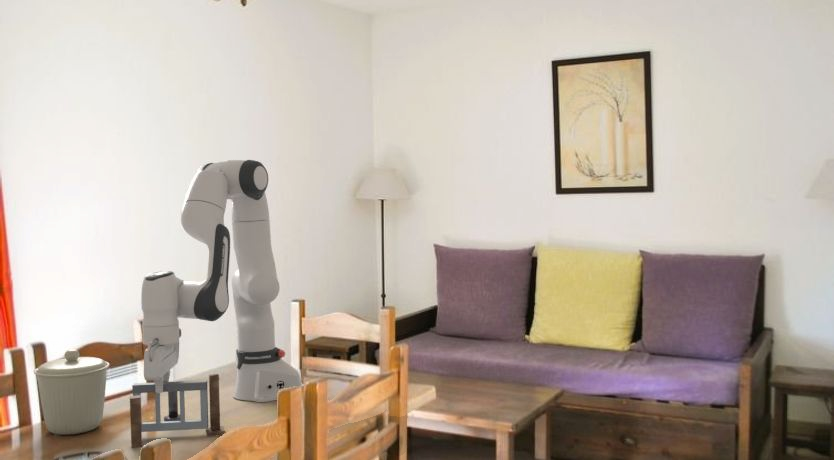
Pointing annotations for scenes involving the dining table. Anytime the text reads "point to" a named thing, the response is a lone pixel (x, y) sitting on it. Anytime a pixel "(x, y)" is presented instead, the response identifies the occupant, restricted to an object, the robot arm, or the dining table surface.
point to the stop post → (172, 407)
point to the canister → (72, 393)
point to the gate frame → (214, 413)
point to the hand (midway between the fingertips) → (162, 390)
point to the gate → (181, 387)
